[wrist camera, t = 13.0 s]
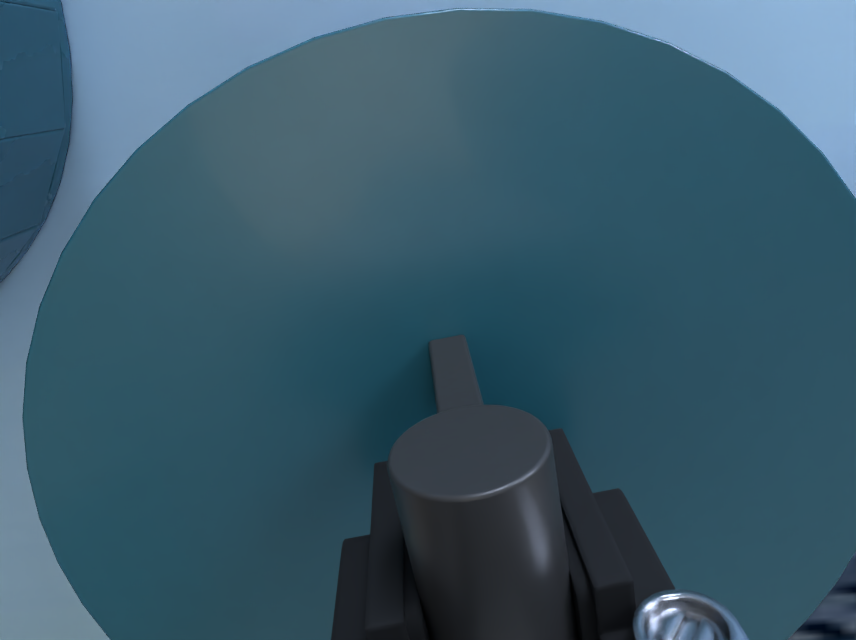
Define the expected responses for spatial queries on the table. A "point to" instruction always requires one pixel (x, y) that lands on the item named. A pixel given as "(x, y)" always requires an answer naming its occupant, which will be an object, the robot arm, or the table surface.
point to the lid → (450, 336)
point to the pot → (31, 119)
